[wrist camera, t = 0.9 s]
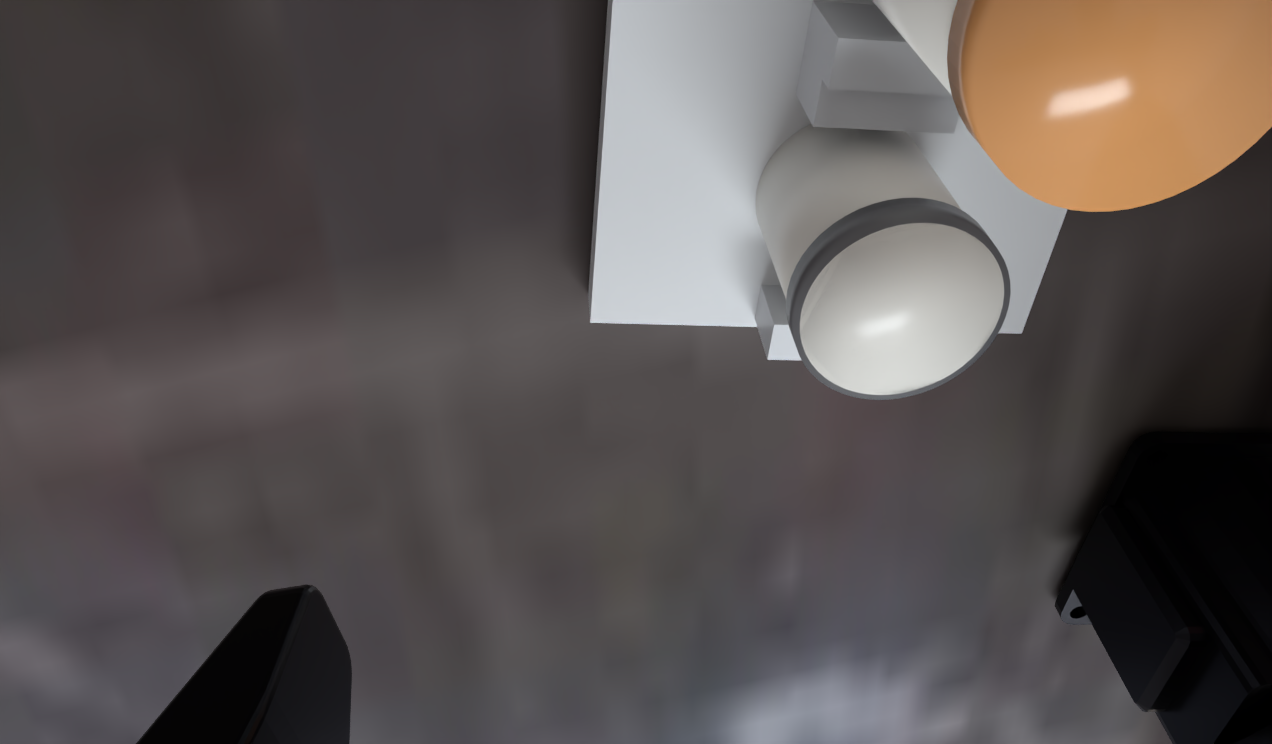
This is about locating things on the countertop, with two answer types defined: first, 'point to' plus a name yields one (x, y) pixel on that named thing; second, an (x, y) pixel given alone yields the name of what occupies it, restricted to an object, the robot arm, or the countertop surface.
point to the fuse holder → (804, 193)
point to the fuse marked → (1100, 89)
